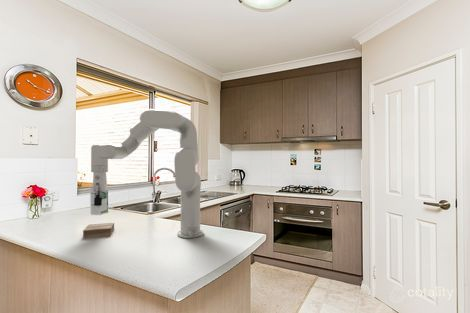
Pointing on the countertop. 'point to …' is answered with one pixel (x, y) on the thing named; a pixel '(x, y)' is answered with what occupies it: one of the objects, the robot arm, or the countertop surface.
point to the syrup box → (104, 207)
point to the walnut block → (98, 230)
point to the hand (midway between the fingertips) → (99, 204)
